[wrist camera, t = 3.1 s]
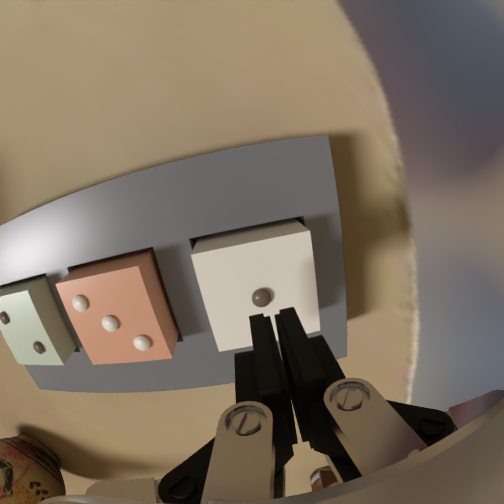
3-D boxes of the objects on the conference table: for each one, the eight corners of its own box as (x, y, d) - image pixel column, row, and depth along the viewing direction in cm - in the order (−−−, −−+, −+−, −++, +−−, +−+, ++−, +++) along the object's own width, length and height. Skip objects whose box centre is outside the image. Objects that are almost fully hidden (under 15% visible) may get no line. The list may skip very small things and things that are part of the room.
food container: (285, 484, 29) (295, 536, 20) (309, 467, 28) (325, 524, 19) (342, 485, 32) (357, 527, 22) (367, 468, 31) (385, 512, 21)
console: (1, 229, 16) (-28, 241, 12) (307, 141, 17) (327, 134, 13) (56, 364, 20) (39, 388, 16) (329, 326, 21) (346, 356, 17)
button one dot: (198, 236, 15) (190, 256, 12) (293, 217, 15) (311, 231, 12) (220, 319, 17) (218, 353, 13) (304, 301, 17) (321, 332, 14)
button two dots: (12, 282, 15) (-15, 300, 11) (54, 270, 15) (25, 291, 12) (38, 341, 17) (17, 365, 13) (83, 338, 17) (62, 366, 13)
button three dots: (82, 263, 15) (53, 285, 12) (155, 246, 15) (136, 267, 12) (110, 335, 17) (92, 366, 13) (180, 325, 17) (172, 360, 13)
